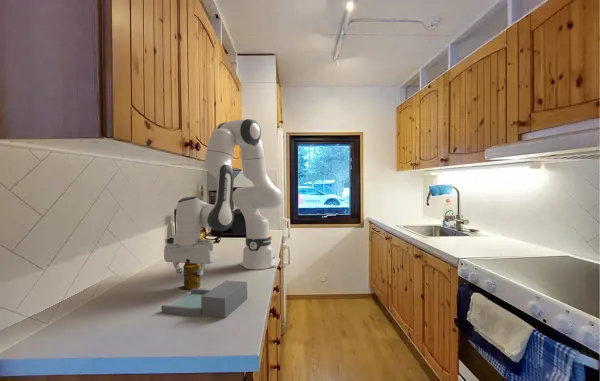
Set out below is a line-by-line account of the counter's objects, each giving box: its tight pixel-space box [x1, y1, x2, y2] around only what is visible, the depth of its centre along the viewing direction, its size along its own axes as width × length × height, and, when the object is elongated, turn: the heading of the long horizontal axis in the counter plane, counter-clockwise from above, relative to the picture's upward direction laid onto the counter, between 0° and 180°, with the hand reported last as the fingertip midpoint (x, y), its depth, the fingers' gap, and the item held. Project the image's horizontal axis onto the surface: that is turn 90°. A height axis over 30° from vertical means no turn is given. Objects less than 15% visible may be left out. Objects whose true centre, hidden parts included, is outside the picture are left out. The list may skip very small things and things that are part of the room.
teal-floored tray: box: [160, 280, 248, 319], centre depth 105 cm, size 17×22×6 cm
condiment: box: [176, 259, 204, 293], centre depth 122 cm, size 7×8×12 cm
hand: (189, 274), depth 122 cm, fingers open, 8 cm apart
